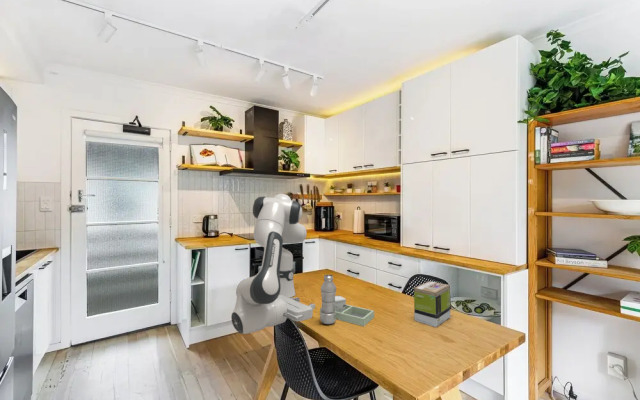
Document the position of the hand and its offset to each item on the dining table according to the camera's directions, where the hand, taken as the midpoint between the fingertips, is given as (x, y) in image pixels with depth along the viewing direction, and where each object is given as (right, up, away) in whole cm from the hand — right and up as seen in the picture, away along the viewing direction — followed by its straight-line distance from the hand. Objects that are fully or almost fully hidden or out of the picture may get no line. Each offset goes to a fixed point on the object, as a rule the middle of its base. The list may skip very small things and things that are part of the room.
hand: (306, 302), depth 117 cm
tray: (+18, -12, +16) cm, 26 cm away
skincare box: (+13, -12, +19) cm, 26 cm away
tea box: (+55, -12, +13) cm, 58 cm away
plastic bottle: (+9, -12, +8) cm, 17 cm away
